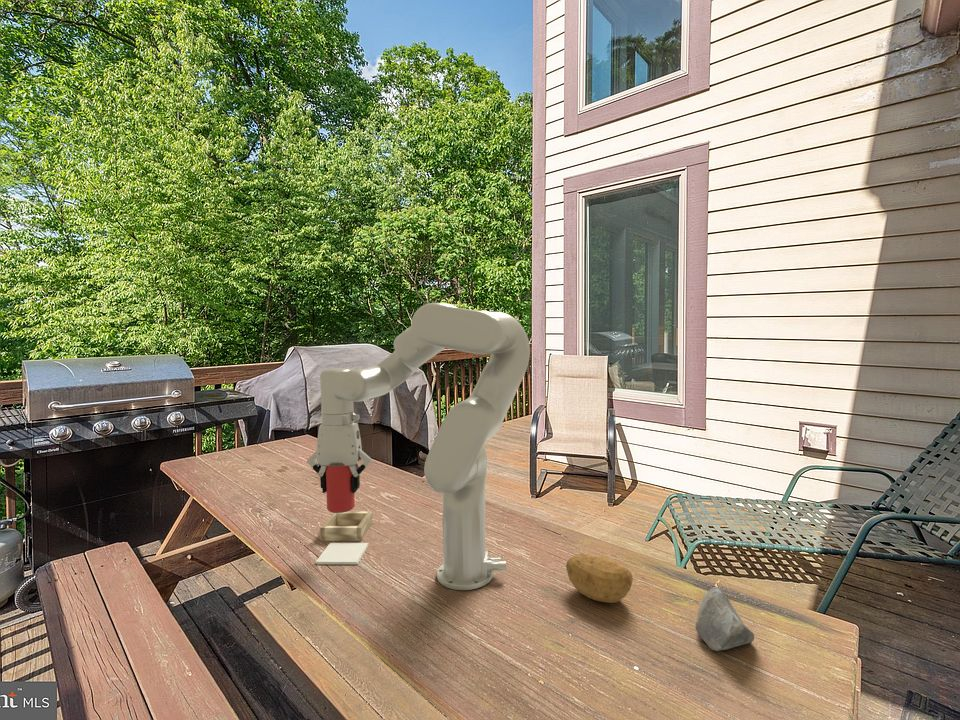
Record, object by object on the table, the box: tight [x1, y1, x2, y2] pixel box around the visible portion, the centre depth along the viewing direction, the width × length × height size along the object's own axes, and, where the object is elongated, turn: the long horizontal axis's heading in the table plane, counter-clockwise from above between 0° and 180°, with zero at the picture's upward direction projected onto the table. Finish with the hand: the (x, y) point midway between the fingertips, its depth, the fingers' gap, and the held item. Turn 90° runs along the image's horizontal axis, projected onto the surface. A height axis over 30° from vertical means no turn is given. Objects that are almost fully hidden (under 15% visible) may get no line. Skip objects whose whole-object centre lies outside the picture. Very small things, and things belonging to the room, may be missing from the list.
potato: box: [565, 552, 634, 604], centre depth 99 cm, size 10×14×8 cm
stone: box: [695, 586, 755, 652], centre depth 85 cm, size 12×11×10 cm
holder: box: [319, 511, 373, 542], centre depth 133 cm, size 11×11×4 cm
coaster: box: [315, 542, 369, 565], centre depth 120 cm, size 10×10×1 cm
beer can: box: [325, 464, 356, 514], centre depth 118 cm, size 7×7×12 cm
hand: (340, 490), depth 118 cm, fingers closed on beer can, 6 cm apart
